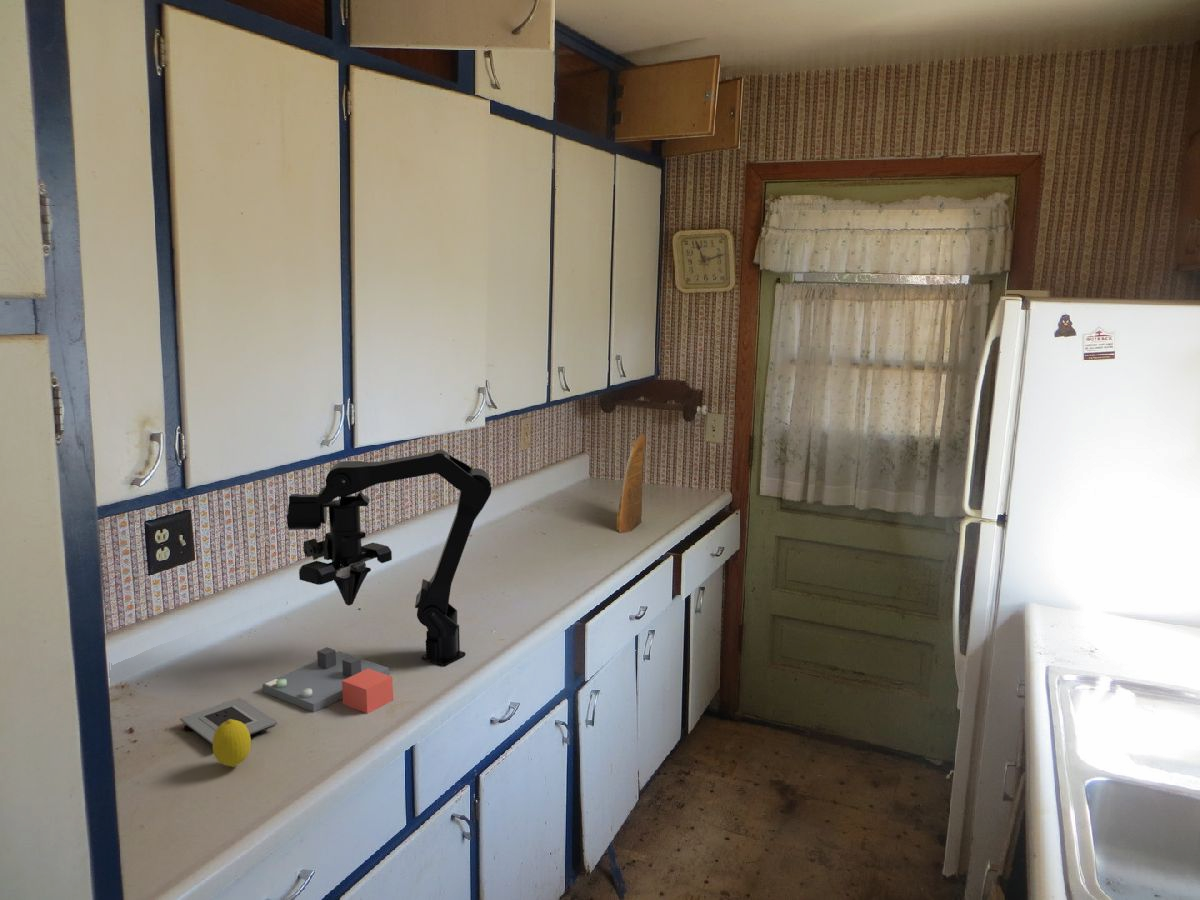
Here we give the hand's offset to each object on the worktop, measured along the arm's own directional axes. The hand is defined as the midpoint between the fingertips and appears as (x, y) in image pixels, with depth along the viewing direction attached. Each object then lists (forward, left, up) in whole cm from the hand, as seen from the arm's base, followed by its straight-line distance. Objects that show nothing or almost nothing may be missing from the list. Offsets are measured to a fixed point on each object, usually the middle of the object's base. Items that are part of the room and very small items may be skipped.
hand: (349, 604), depth 178 cm
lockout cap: (+10, +15, -12) cm, 22 cm away
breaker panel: (+9, +3, -12) cm, 15 cm away
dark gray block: (+6, 0, -10) cm, 12 cm away
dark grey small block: (+6, +7, -10) cm, 14 cm away
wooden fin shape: (-116, -5, -12) cm, 117 cm away
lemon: (+37, +14, -12) cm, 42 cm away
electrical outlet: (+30, +3, -13) cm, 33 cm away
